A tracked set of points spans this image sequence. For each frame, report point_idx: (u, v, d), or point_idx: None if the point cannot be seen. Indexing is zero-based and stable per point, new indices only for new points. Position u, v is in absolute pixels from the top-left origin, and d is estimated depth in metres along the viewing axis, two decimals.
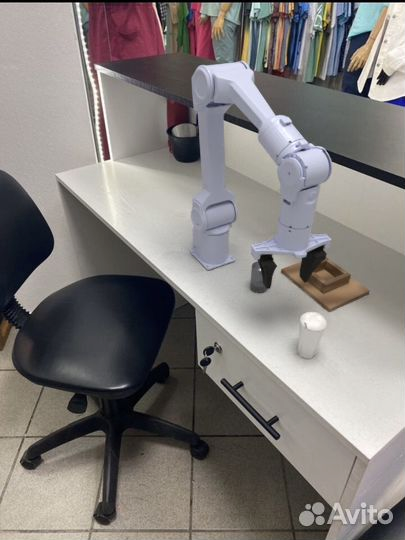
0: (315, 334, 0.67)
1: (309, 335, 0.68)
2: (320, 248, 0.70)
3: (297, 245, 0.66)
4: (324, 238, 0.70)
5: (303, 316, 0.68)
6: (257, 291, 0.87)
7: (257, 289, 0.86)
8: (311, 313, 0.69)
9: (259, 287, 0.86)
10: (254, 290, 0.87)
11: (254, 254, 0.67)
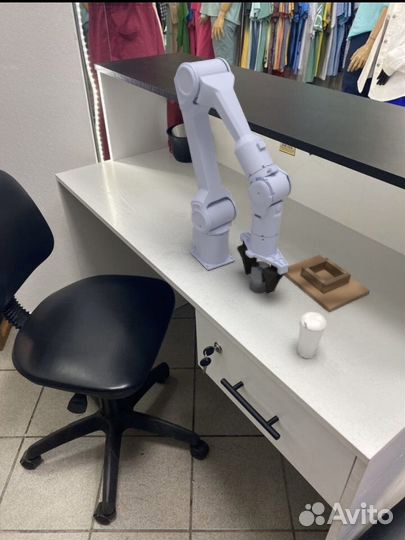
0: (315, 334, 0.67)
1: (309, 335, 0.68)
2: (275, 269, 0.79)
3: (251, 245, 0.80)
4: (281, 264, 0.77)
5: (303, 316, 0.68)
6: (257, 291, 0.87)
7: (257, 289, 0.86)
8: (311, 313, 0.69)
9: (259, 287, 0.86)
10: (254, 290, 0.87)
11: (240, 236, 0.87)
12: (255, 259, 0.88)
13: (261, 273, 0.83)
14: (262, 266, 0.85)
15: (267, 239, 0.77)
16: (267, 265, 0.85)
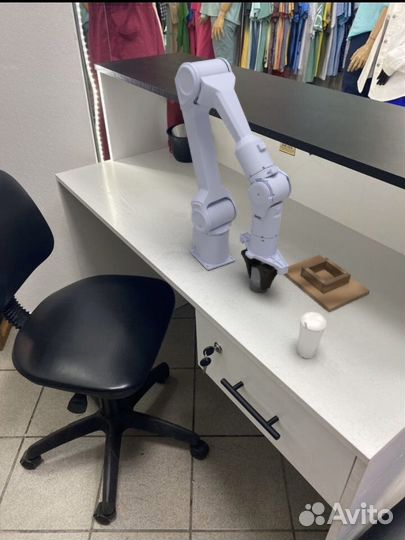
0: (315, 334, 0.67)
1: (309, 335, 0.68)
2: (270, 266, 0.80)
3: (251, 246, 0.80)
4: (281, 265, 0.78)
5: (303, 316, 0.68)
6: (257, 291, 0.87)
7: (257, 289, 0.86)
8: (311, 313, 0.69)
9: (259, 287, 0.86)
10: (254, 290, 0.87)
11: (240, 237, 0.87)
12: None
13: None
14: None
15: (267, 240, 0.77)
16: None
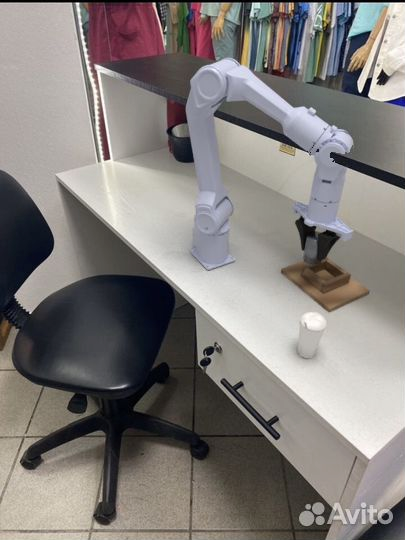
0: (315, 334, 0.67)
1: (309, 335, 0.68)
2: (332, 233, 0.77)
3: (310, 213, 0.77)
4: (345, 230, 0.74)
5: (303, 316, 0.68)
6: (312, 262, 0.83)
7: (312, 260, 0.83)
8: (311, 313, 0.69)
9: (315, 258, 0.82)
10: (309, 261, 0.83)
11: (292, 207, 0.84)
12: None
13: (318, 243, 0.80)
14: None
15: (330, 205, 0.74)
16: None
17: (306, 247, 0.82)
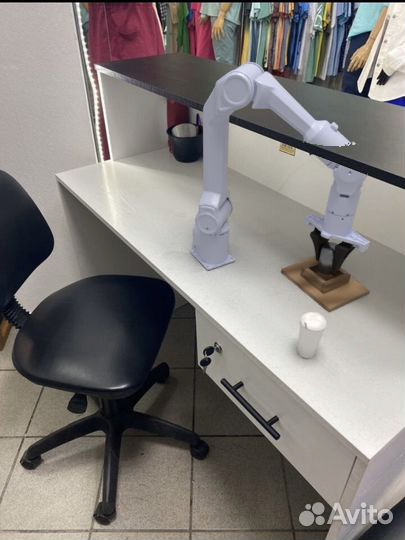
0: (315, 334, 0.67)
1: (309, 335, 0.68)
2: (348, 244, 0.79)
3: (327, 226, 0.79)
4: (362, 242, 0.77)
5: (303, 316, 0.68)
6: (327, 273, 0.85)
7: (328, 270, 0.85)
8: (311, 313, 0.69)
9: (330, 268, 0.85)
10: (325, 271, 0.85)
11: None
12: None
13: (334, 253, 0.82)
14: (333, 247, 0.84)
15: (347, 218, 0.76)
16: None
17: (321, 258, 0.85)
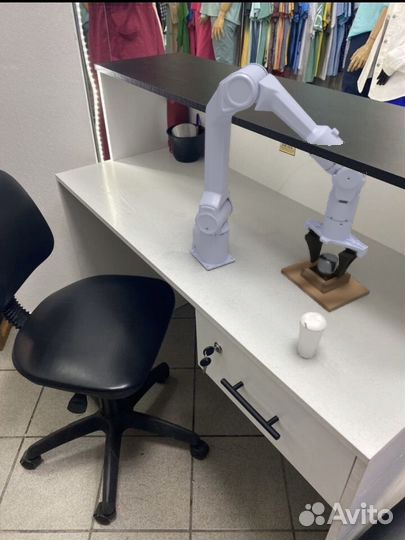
0: (315, 334, 0.67)
1: (309, 335, 0.68)
2: (352, 252, 0.79)
3: (326, 231, 0.80)
4: (361, 247, 0.78)
5: (303, 316, 0.68)
6: None
7: None
8: (311, 313, 0.69)
9: (327, 279, 0.86)
10: None
11: None
12: (320, 246, 0.88)
13: (331, 264, 0.84)
14: (330, 258, 0.85)
15: (345, 223, 0.77)
16: (334, 256, 0.86)
17: (319, 268, 0.86)
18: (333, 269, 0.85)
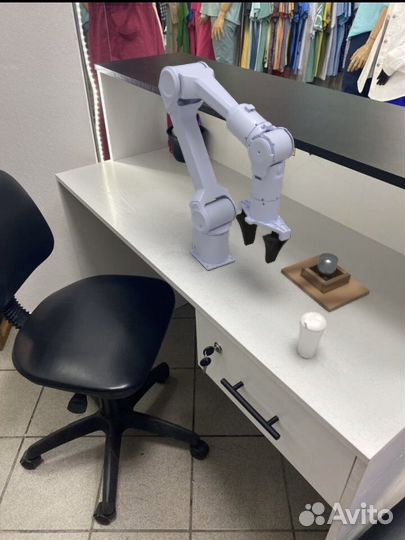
0: (315, 334, 0.67)
1: (309, 335, 0.68)
2: (276, 235, 0.74)
3: (251, 211, 0.76)
4: (283, 229, 0.73)
5: (303, 316, 0.68)
6: None
7: None
8: (311, 313, 0.69)
9: (327, 279, 0.86)
10: None
11: (239, 204, 0.83)
12: (255, 229, 0.84)
13: (331, 265, 0.84)
14: (330, 258, 0.85)
15: (268, 203, 0.73)
16: (334, 256, 0.86)
17: (319, 269, 0.86)
18: (333, 269, 0.85)
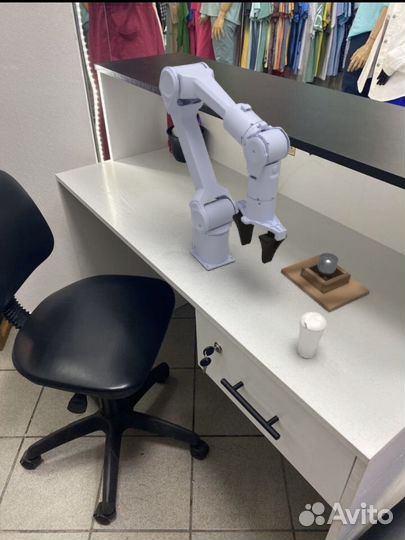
0: (315, 334, 0.67)
1: (309, 335, 0.68)
2: (272, 235, 0.74)
3: (247, 211, 0.76)
4: (279, 229, 0.73)
5: (303, 316, 0.68)
6: None
7: None
8: (311, 313, 0.69)
9: (327, 279, 0.86)
10: None
11: (236, 204, 0.83)
12: (251, 229, 0.84)
13: (331, 264, 0.84)
14: (330, 258, 0.85)
15: (264, 203, 0.73)
16: (334, 256, 0.86)
17: (319, 269, 0.86)
18: (333, 269, 0.85)
